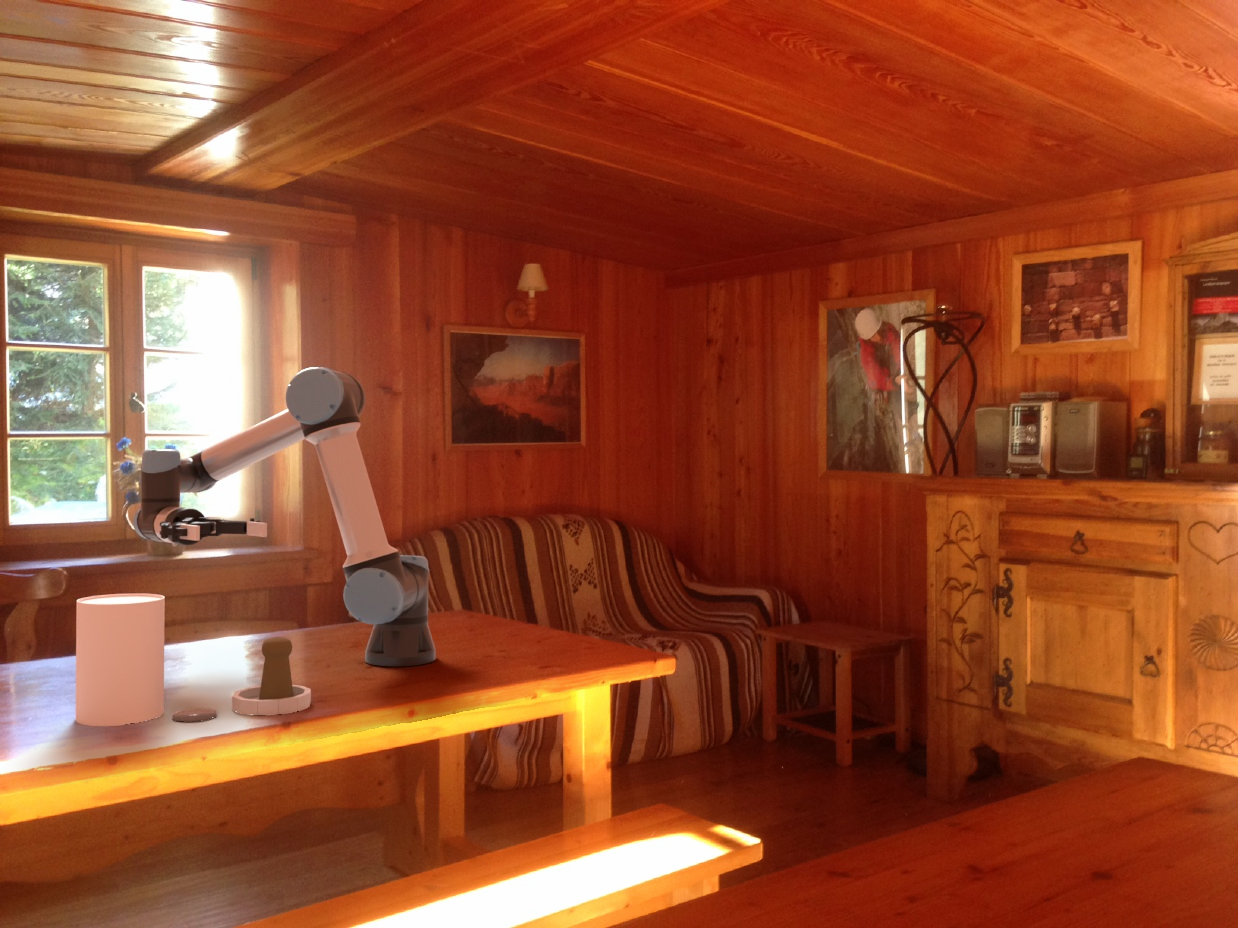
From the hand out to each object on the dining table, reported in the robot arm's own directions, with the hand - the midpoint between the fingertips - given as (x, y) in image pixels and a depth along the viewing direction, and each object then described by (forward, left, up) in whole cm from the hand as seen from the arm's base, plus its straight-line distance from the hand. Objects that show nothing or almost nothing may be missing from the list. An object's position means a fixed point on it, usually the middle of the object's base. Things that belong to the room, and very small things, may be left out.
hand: (232, 531), depth 199 cm
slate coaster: (+3, +22, -30) cm, 37 cm away
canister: (+15, +19, -30) cm, 39 cm away
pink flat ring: (-9, +16, -30) cm, 35 cm away
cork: (-10, +15, -29) cm, 34 cm away
